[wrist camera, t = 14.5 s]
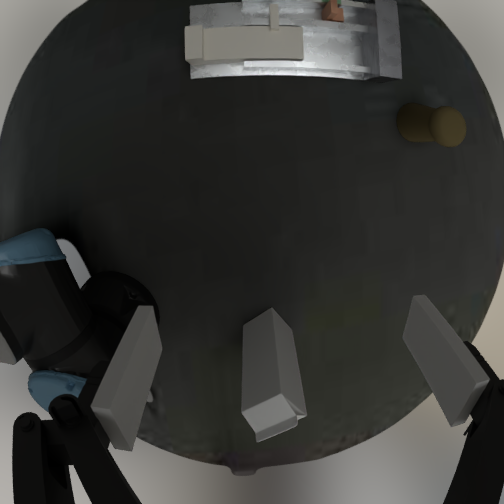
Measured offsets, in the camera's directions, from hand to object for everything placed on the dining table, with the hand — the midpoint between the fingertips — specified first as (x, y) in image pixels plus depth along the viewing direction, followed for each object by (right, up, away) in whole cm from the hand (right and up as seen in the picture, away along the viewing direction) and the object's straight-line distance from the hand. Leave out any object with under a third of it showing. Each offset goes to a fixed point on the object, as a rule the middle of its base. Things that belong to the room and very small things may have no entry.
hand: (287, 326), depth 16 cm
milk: (+1, -9, +39) cm, 40 cm away
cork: (+22, +23, +25) cm, 40 cm away
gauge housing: (+3, +32, +21) cm, 38 cm away
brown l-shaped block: (+9, +36, +18) cm, 41 cm away
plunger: (-3, +31, +20) cm, 37 cm away
